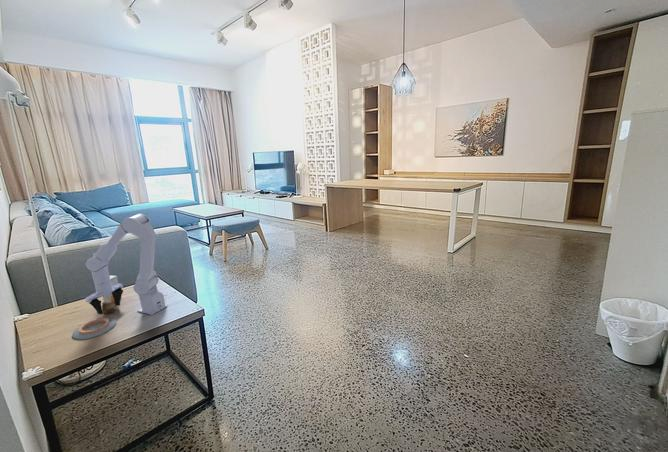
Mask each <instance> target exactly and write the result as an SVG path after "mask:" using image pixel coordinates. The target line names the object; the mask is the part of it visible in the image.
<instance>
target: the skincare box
mask: <svg viewBox="0 0 668 452" xmlns="http://www.w3.org/2000/svg"><path fill="white" fill-rule="evenodd" d="M109 276H110V280H111V284H112V286H114V285H117V284H120V283H119V279H118V275H111V274H109ZM121 299H122V296H121ZM107 300H113V302H114V298H113V295H112V293H109V294H107V295H104V296H102V301H103V302H105V301H107ZM114 303H115V302H114Z"/></svg>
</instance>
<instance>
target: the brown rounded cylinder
mask: <svg viewBox="0 0 668 452" xmlns="http://www.w3.org/2000/svg"><path fill="white" fill-rule="evenodd" d="M101 306H102V308H103V309H102V310H103V313H104V315H111V314H113V313H115V312H116V305H115V302H113V300H107V301H105V302H104V301H103V302H101Z"/></svg>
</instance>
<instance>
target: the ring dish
mask: <svg viewBox="0 0 668 452" xmlns="http://www.w3.org/2000/svg"><path fill="white" fill-rule="evenodd" d="M115 326H117V320H116V319H115V318H111V317H103V318H96V319H92V320H91V321H88V322H85V323H83V324H82V325H80V326H79V327H77V328H75V330H74V331H73V332H72V334H71V336H72V338H73V339H75V340H79V341H80V340H89V339H92V338H96V337H99V336H101V335H103V334H105V333H108V332H109V331H111V330H112V329H114V328H115Z"/></svg>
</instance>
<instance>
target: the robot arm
mask: <svg viewBox="0 0 668 452" xmlns="http://www.w3.org/2000/svg"><path fill="white" fill-rule="evenodd" d="M151 221H152V219H150V217H148V215H145V214H144V213H137V214H135V215H132V216H130V217H126V218H124V219H123V220H122V222H120V223H119V224H118V227H117V228H116V230H115V231H114V233H113V234H112V236H111V237H110V238H109V240H108V242H107V241H106V242H103V243H101V244H99V245H98V249H97V251H96V252H93V254H92V257H90V258H88V259H87V260H86V262H85V266H86V267H85V268H87V269H88V270H89V271H90V272H91V277H92V279H93V280H92V281H93V284H94V288H95V292H94V293H92V294H90V295H89V296H87V297H85V298H84V299H85V303H88V304H89V305H91V306H92V307H93V308H94V310H95V311H96V313H97V315H102V314H103V309H102V308H103V307H102V300H101V299H99V298H103V296H104V295H107V294H109V293H112V295H113V298H114V305H115V306H120V305H121V299H122V298H121V297H122V295H123V292H124V285H123V283H119V284H117V285H114V286H112V284H111V280H110V272H109V264H110V261H111V260H110V259H111V258H112V257H113V256H114V255H115V253H116V252H117V251H118V247H117V246H118V245H119V244H120V242H121V241H122V240H123V239H124V238H125V236H126V235H127V234H128V233H129V234H131V235H133V236H135V237H138V238H139V240H140V251H139V272H138V275H137V277H136V281H135V282H134V285H133V291H134V292H135V293H136V294H137V295H138V297H139V302H140V307H141V308H139V309H137V312H139V313H144V314H147V315H154V314H156V313H157V312H160V311H162V310H163V309H165V308H166V307H168V305H167V304H166V303H165V302H166V301H165V296H164V294H163V293H162V292H160V291H159V290H158V286H157V284H158V283H159V278H158V276H157V272H158V271H155V270H154V269H155V253H156V232H155V229H154V227H153V225H152V224H151Z"/></svg>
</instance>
